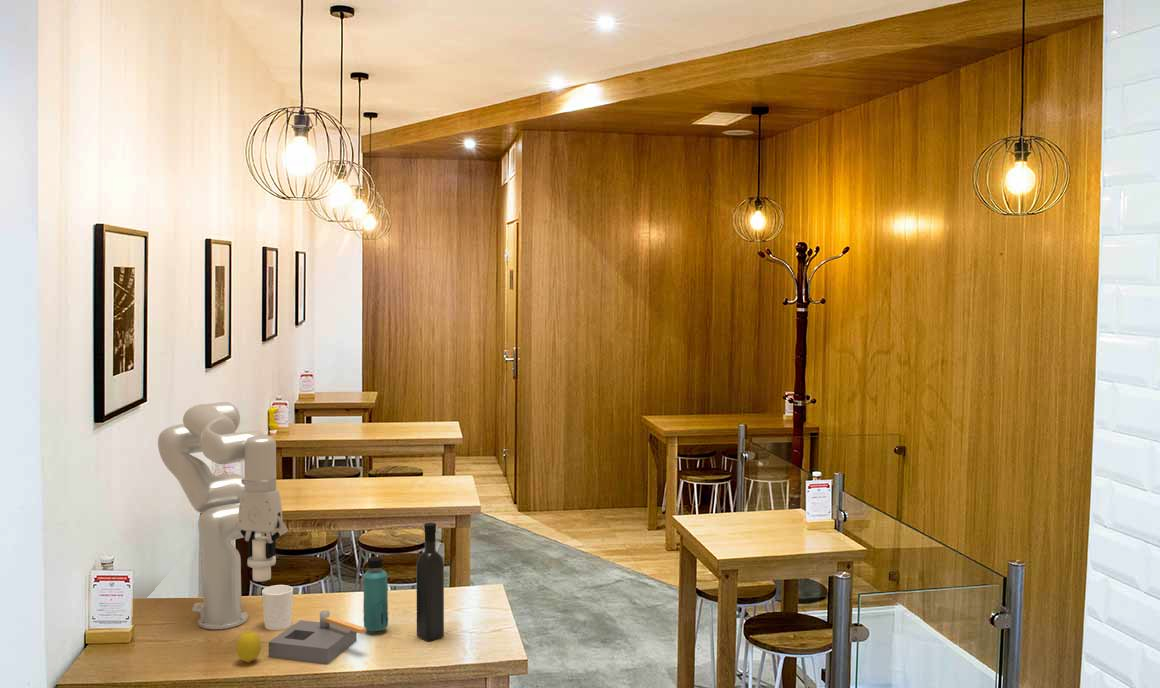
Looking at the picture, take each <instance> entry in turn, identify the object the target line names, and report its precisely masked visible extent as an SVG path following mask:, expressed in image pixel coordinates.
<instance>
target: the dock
mask: <svg viewBox="0 0 1160 688" xmlns="http://www.w3.org/2000/svg"><path fill="white" fill-rule="evenodd" d="M357 634H358V633H357V632H354V631H351V630H348V629H345V628H342V627H339V626H336V625H333V624H330V627H328V628H320V621H311V620H302V619H300V620H298V621H296V623H294V624H293V625H291V626H289V627H288V628H286V630H285V629H284V630H283V631H282V632H281V633H280V634H278V635H277V636H275V637H273V638H272V639H270V640H269V641H268V658H273V659H281V660H289V661H296V662H297V661H298V662H305V663H314V664H324V665H329V664H330V663H331V662H332V661H334V660H335V659H336V658H338V657H339V656H340V655H341V654H342V653H343V652H346V650H347V649H349V648H350V647H351V646H352V645H353V644H354V643H356V642H357V640H358V639H357Z"/></svg>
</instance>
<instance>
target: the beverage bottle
mask: <svg viewBox="0 0 1160 688" xmlns="http://www.w3.org/2000/svg"><path fill="white" fill-rule="evenodd" d="M383 560H384V559H383V557H381V556H371V557H368V558H367V563H366V567H367V568H369V569H368V570H367V571H366V572H365V573H364V574H363V575H362V577H363V603H362V604H363V609H362V610H363V613H362V614H363V619H362V620H363V627H364V628H366V631H369V632H377V631H378V632H379V631H383V630H385V629H387V628H388V625H389V609H388V608H389V600H388V597H389V596H388V595H389V591H388V573H387V572H386V571H385V570H384V569H382V567H383V566H384V561H383Z"/></svg>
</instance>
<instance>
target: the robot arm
mask: <svg viewBox="0 0 1160 688" xmlns="http://www.w3.org/2000/svg"><path fill="white" fill-rule="evenodd" d="M240 422H241V415H240V412H239V410H238V407H236V406H235V404H232V403H230V402H227V401H226V402H223V401H222V402H214V403H213V402H212V403H203V404H196V405H193V406H191V407H189V408H188V409H187V410H186V411H185V413H184V414H183V418H182V424H175V425H172V426H169V427H166V428H165V429H163V430H162V431H161V432H160V434H159V436H158V438H157V447H158V452H159V455H160V458H161V461H162V463H163V464H164V466H165V467H166V468H167V470H168V471H169V472H170V473H171V474H172V475H173V476H174V477H175V478H176V480H177V481H178V483H179V484H180V487H181V488H182V490H183V492H184V494H185V496H186V497H187V499H188V502H189V503H190V504H191V506H192V508H193V509H194V511H196V512H197V513H200V515H199V517H198V519H197V520H198V521H197V529H198V533H199V538H200V543H201V551H202V573H203V574H202V581H203V583H202V584H203V585H202V587H203V590H202V591H203V592H202V593H203V603H202V602H195V603H193V604H194V605H193V608H192V610H191V611H192V613H193V614H194V613H195V614H198V613H199V615H200V617H198V619H197V625H198V626H199V627H200V628H201V629H207V630H226V629H231V628H235V627H237V626H240V625H242V624H244V623H246V622H247V620H248V618H249V617H248V616H249V615H248V612H246V611H245V610H242V573H241V572H242V571H241V569H242V568H241V567H242V563H241V562H242V561H241V560H242V559H241V554H240V552H239V550H238V549H237V548H236V547H235V546H234V545H233V543H232V541H235V540H237V539H238V540H239V539H243V538H244V540H245V541H246V545H247V546H246V548H247V549H246V551H247V557H248V558H249V557H252V539H253V538H256V536H257V535H259V534H260V533H265V534H266V536H265V537H267V540H268V543H266V558H267V559H270V558H271V557H273V556H275V557H276V553H277V550H276V549H277V544H276V543H277V542H276V541H278V539H279V538H280V537H281V536H282V535H284V534H285V533H286V532H288V531H289V529H288V527H287V526H286V524H285V522H284V521H283V508H282V506H283V505H282V499H281V495H280V491H279V489H277V444H276V443H277V442H276V439H275V438H274V437H273V436H271V435H266V434H265V433H263V432H262V431H260V430H249V431H239V432H236V431H237V429H238V428H239V426H240V424H241V423H240ZM195 453H197V454H198V453H202V454H203V456H204V457H205V458H206V459H208V460H210V461H212V462H213V463H215V464H218V465H230V464H235V463H242V462H244V476H243V475H240V474H237V473H234V474H233V473H231V474H226V475H225V474H224V475H214V474H213V473H212V471H211V469H210V467H209V466H208V465H207V463H206V462H205V461H203V460H202V459H199V458H198V457H196V456H194V455H192V454H195ZM277 529H278V531H277Z"/></svg>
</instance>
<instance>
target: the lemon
mask: <svg viewBox="0 0 1160 688" xmlns="http://www.w3.org/2000/svg"><path fill="white" fill-rule="evenodd" d="M261 646H262V644H261V640H260V637H259V635H258V634H257V633H256V632H253V631H251V630H247V631H246V632H243V633H242V634H241V635H240V636H239V637H238V640H237V642H236V653H237V657H238V658H239V659H240V660H241V661H243V662H246V664H250V663H252V662H253V661H254V660H256V659H257V658H258V656H259V654H260V653H261V648H262V647H261Z"/></svg>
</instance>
